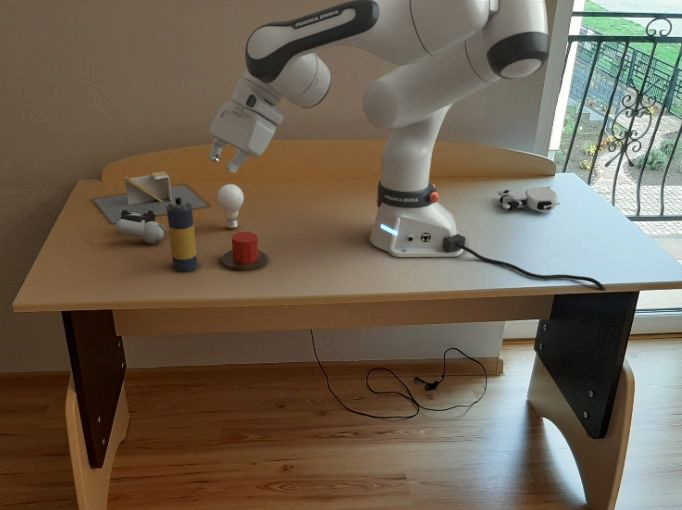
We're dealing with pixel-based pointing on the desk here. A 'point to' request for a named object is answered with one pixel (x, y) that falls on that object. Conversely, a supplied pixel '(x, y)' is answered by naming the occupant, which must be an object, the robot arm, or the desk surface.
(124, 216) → the clip-on lamp
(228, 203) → the lightbulb
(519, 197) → the robot toy
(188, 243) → the spray can
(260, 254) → the coaster
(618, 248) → the desk surface
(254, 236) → the cap
